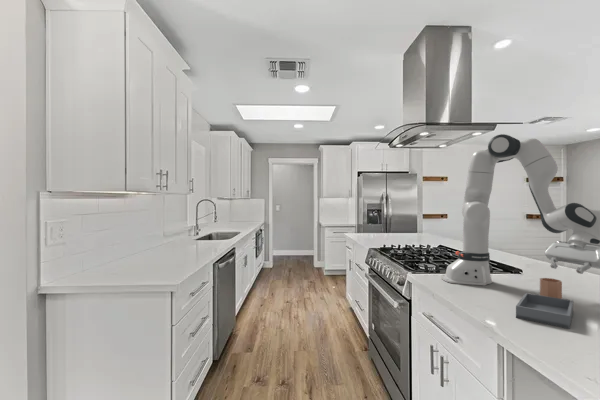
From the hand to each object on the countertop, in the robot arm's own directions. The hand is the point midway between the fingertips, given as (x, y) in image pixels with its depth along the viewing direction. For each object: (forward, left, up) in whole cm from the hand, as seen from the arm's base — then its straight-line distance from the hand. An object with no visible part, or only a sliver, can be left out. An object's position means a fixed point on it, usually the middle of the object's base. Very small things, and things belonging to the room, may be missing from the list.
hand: (565, 269), depth 128 cm
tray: (-18, -19, -12) cm, 29 cm away
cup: (-8, -4, -12) cm, 14 cm away
